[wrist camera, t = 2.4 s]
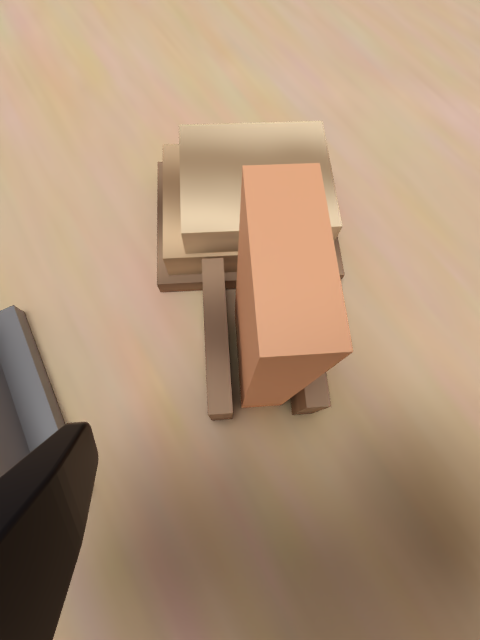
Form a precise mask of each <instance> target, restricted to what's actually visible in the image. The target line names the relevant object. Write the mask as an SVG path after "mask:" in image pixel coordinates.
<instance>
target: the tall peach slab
mask: <svg viewBox="0 0 480 640" xmlns="http://www.w3.org/2000/svg"><path fill="white" fill-rule="evenodd" d="M235 324H236V338H237V352H238V367H239V381H240V395H241V408H246V407H261V406H275V405H282V404H283V403H285V402H286V401H287V400H289V399H290V398H291V397H293V396H294V395H295V394H297V393H298V392H300V391H301V390H302V389H304V388H305V387H306V386H308V385H309V384H310V383H312V382H313V381H314V380H316V379H317V378H318V377H320V376H321V375H322V374H324V373H325V372H327V371H328V370H329V369H331V368H332V367H333V366H335V365H336V364H337V363H339V362H340V361H341V360H343V359H344V358H345V357H347V356H348V355H349V354H351V353H352V352H353V347H352V341H351V336H350V330H349V325H348V319H347V313H346V308H345V302H344V296H343V291H342V285H341V279H340V274H339V268H338V262H337V257H336V251H335V245H334V240H333V234H332V228H331V223H330V217H329V212H328V206H327V200H326V195H325V189H324V183H323V178H322V172H321V166H320V163H302V164H272V165H242V184H241V203H240V223H239V242H238V262H237V281H236V300H235Z"/></svg>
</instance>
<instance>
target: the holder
mask: <svg viewBox="0 0 480 640" xmlns="http://www.w3.org/2000/svg"><path fill="white" fill-rule="evenodd" d="M63 425H65V423H64V420H63V417H62V414H61V412H60V409H59V406H58V404H57V401H56V398H55V395H54V393H53V390H52V387H51V384H50V382H49V379H48V376H47V373H46V371H45V368H44V365H43V363H42V360H41V357H40V354H39V352H38V349H37V346H36V343H35V341H34V338H33V335H32V332H31V330H30V327H29V324H28V322H27V319H26V316H25V313H24V312H23V311H22V310H20V309H19V308H17V307H15V306H14V305H13V306H10V307H8V308H6V309H3V310H1V311H0V477H1V476H2V475H3V474H5V473H6V472H7V471H8V470H9V469H11V468H12V467H13V466H14V465H16V464H17V463H18V462H19V461H20V460H22V459H23V458H24V457H25V456H27V455H28V454H29V453H30V452H31V451H33V450H34V449H35V448H36V447H38V446H39V445H40V444H41V443H42V442H44V441H45V440H46V439H47V438H49V437H50V436H51V435H52V434H53V433H55V432H56V431H57V430H58V429H60V428H61V427H62V426H63Z"/></svg>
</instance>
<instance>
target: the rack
mask: <svg viewBox="0 0 480 640" xmlns="http://www.w3.org/2000/svg"><path fill="white" fill-rule="evenodd" d="M302 163H320V166H321V172H322V178H323V183H324V189H325V195H326V200H327V206H328V212H329V217H330V223H331V228H332V234H333V240H334V245H335V251H336V257H337V262H338V268H339V274H340V279H342V278H343V276H344V269H343V264H342V258H341V253H340V247H339V242H338V234H339V232H340V230H341V228H342V222H341V216H340V211H339V206H338V200H337V195H336V190H335V185H334V179H333V174H332V169H331V163H330V158H329V153H328V148H327V142H326V137H325V132H324V126H323V121H296V122H259V123H223V124H187V125H179V144H164V145H163V162H158V207H157V285H158V288H159V290H160V292H170V291H190V290H203V306H204V331H205V356H206V381H207V406H208V416H209V417H210V419H211V420H223V419H232V416H233V407H232V391H231V375H230V358H229V342H228V326H227V310H226V294H225V289H229V288H236V281H237V262H238V242H239V223H240V203H241V184H242V165H272V164H302ZM290 399H291V408H292V415H294V414H308V413H314V412H317V411H319V410H322V409H325V408H328V407H330V406H331V402H330V395H329V388H328V382H327V375H326V372H325V373H324V374H322V375H321V376H320V377H318V378H317V379H316V380H314V381H313V382H312V383H310V384H309V385H308V386H306V387H305V388H304V389H302V390H301V391H300V392H298V393H297V394H295V395H294V396H293V397H291V398H290Z"/></svg>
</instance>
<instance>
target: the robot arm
mask: <svg viewBox="0 0 480 640" xmlns="http://www.w3.org/2000/svg"><path fill="white" fill-rule="evenodd" d="M97 466H98V451H97V447H96V443H95V440H94V436H93V433H92V429H91V426H90V425H89V423H87V422H74V423H67V424H65V425H63V426H62V427H61V428H60V429H58V430H57V431H56V432H55V433H53V434H52V435H51V436H50V437H49V438H47V439H46V440H45V441H44V442H42V443H41V444H40V445H39V446H38V447H36V448H35V449H34V450H33V451H31V452H30V453H29V454H28V455H27V456H25V457H24V458H23V459H22V460H20V461H19V462H18V463H17V464H16V465H14V466H13V467H12V468H11V469H9V470H8V471H7V472H6V473H5V474H3V475H2V476H1V477H0V640H53V637H54V634H55V631H56V627H57V624H58V621H59V618H60V614H61V611H62V608H63V605H64V601H65V598H66V595H67V592H68V588H69V585H70V582H71V578H72V575H73V572H74V569H75V565H76V562H77V559H78V556H79V552H80V548H81V545H82V541H83V536H84V532H85V527H86V522H87V517H88V512H89V507H90V502H91V496H92V491H93V486H94V481H95V476H96V471H97Z"/></svg>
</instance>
